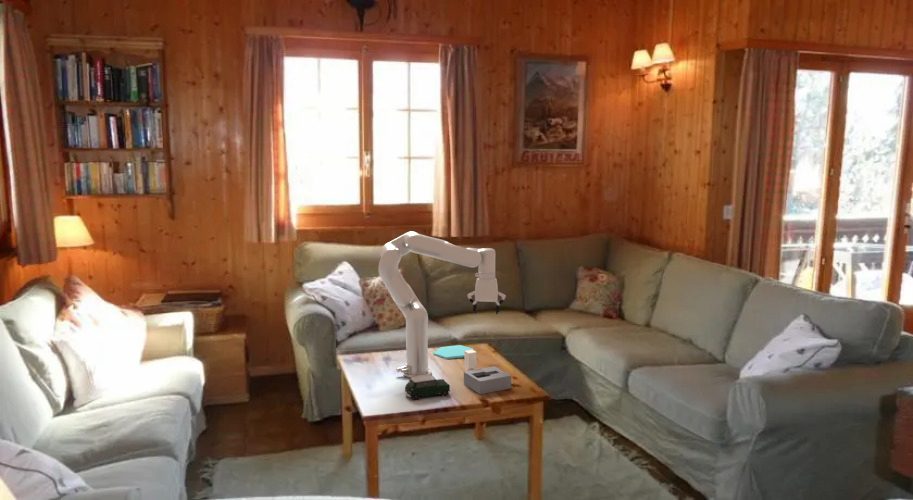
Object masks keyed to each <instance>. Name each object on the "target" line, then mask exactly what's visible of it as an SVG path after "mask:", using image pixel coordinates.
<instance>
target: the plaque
mask: <svg viewBox="0 0 913 500" xmlns="http://www.w3.org/2000/svg"><path fill="white" fill-rule="evenodd" d="M468 350H474V348H472V347H468V346H464V345H461V344H456V345H448V346H440V347H439V348H438V349H436V350H435V351H434V352H433V356H436V357H438V358H441V359H445V360H451V359H460V358H462V359H463V358H464V351H468Z"/></svg>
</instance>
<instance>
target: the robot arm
mask: <svg viewBox="0 0 913 500" xmlns="http://www.w3.org/2000/svg"><path fill="white" fill-rule="evenodd" d="M409 253H414V254H418V255H423V256H426V257H430V258H434V259H438V260H442V261H446V262H450V263H452V264H453V263H454V264H456V265H460V266H465V267H467V268H477V267H478V269H477V271H478V272H476V273H474V276H475V277H477V278H476V281H475V286H474V287H475V288H474V289H475V290H473V291H471V292H470V293H468V294H467V299H468V300H469V301H470V303H471V304H472V306H473V308H472V312H474V314H477V313H478V312H477V311H478V309H477V308H478V304H477V303H478V302H488V303H489V302H490V303H492V302H493V303H495V314H496V315H498V314H499V313H500V305H501V304H503V303H504V301H505V299H506V297H507V295H506V294H504V293H502V292H500V291H499V290H498V289H499V288H498V280H497V278H496V250H495V249H494V248H491V247H490V248H489V247H486V248H483V247H482V248H476V247H475V248H474V247H462V246H458V245H455V244H453V243H450V242H449V241H446V240H445V239H440V238H437V237H431V236H427V235H424V234H421V233H419V232H416V231H411V230H410V231H408V232H405V233H404V234H402V235H400V236H398V237H397V238H394V239H392V240H391V241H388V242H387V243H385V244H384V245H383V246H382V247H381V248H380V250H379V255H380V260H379V262H378V270H377V271H378V276H379V278H380V280H381V282H382V284H384V286H385V288H386V289H387V291H388V292H389V294H390V297H391V299H392V300H393V301H394V304H395V305H396V306H397V307H398V309H399V310H400V312H401V314H402V315H403V317H404V318H405V348H406V349H405V350H406V353H405V354H406V355H405V357H406V363H404V365H403V366H399V367H396V369H395V370H396V372H397V373H399V372H401V373H402V374H403V376H405V377H407V378H409V379H411V378H412V377H415V376H420V375H432V369H431V368H429V351H428V350H429V349H428V346H429V345H428V342H429V339H428V326H429V325H428V323H429V316H428V311H427V310H426V308H425V307H424V305H423V304H422V303H421V301H420V300H419V299H418V297H417V295H416V294H415V291H414V290H413V289H412V287H411V285H410V284H409V283H408V282H407V281H406V279H405V278H404V277H403V275H402V274H401V272H400V270H399V264H400V262H401V259H402V257H404V256H405V255H407V254H409ZM472 296H474V298H472ZM498 296H500V297H501V298H500V299H499V297H498Z"/></svg>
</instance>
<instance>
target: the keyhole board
mask: <svg viewBox="0 0 913 500" xmlns="http://www.w3.org/2000/svg"><path fill="white" fill-rule="evenodd" d="M463 385H464V386H466V387H468V388H469V389H471V390H472V391H474V392H475V393H477V394H479V395H484V394H488V393H493V392H500V391H505V390H509V389H512V375H511V374H509V373H508V372H505V371H504V370H502V369H500V368H499V367H497V366H495V365H494V366H489V367H483V368H477V369H476V368H475V369H473V370H471V371H468V370H466V371H463Z"/></svg>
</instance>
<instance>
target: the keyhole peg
mask: <svg viewBox="0 0 913 500" xmlns="http://www.w3.org/2000/svg"><path fill="white" fill-rule="evenodd" d="M477 353H478V352H477V351H476V350H475V349H473V350H468V351H464V357H463V358H464V360H463V361H464V362H463V363H464V367H465V368H467V371H471V370H474V369H476V368H477V369H478V365H477V363H478V361H477V360H478V359H477V358H478V354H477Z"/></svg>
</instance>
